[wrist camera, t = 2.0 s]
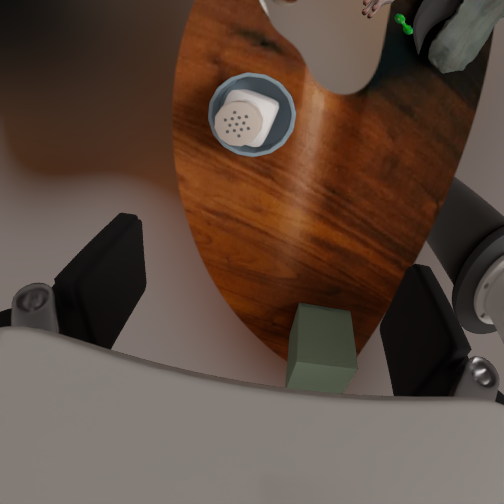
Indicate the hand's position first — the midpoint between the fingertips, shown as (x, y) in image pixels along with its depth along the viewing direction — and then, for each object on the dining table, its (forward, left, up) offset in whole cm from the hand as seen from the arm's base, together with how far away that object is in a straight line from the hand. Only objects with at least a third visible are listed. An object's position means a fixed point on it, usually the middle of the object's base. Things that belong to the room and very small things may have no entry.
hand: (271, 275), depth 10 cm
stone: (-14, -21, -21) cm, 33 cm away
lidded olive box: (-8, +22, -22) cm, 32 cm away
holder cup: (+4, -3, -22) cm, 23 cm away
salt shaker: (+4, -3, -22) cm, 23 cm away
